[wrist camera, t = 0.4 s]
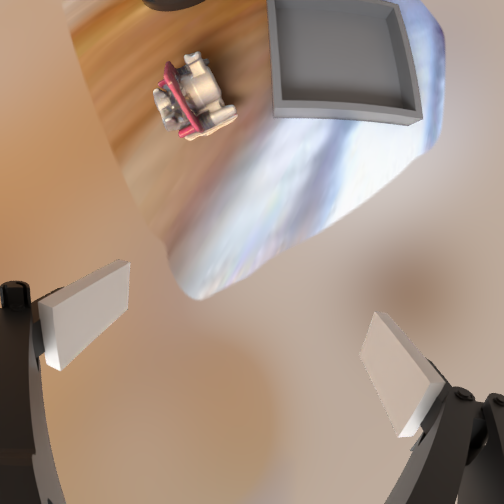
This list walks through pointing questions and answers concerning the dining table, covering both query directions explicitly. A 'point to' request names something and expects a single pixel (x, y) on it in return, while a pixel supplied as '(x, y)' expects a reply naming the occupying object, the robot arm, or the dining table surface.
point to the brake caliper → (192, 99)
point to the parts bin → (342, 61)
